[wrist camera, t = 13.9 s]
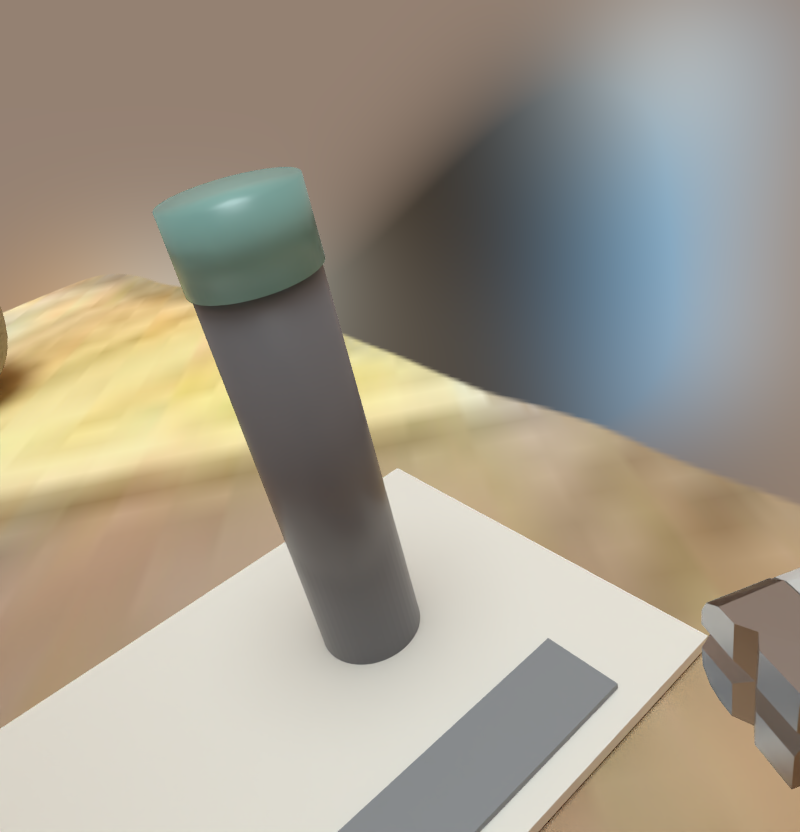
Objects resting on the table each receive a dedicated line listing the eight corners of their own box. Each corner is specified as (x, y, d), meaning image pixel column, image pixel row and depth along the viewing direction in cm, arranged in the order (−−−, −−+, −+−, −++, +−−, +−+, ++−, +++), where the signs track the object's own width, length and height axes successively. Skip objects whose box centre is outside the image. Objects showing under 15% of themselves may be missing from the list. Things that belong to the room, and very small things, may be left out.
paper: (-42, 768, 22) (-52, 756, 22) (399, 475, 31) (396, 464, 30) (106, 1307, 12) (90, 1298, 12) (707, 645, 20) (707, 631, 20)
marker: (300, 629, 24) (130, 210, 16) (379, 570, 25) (255, 164, 18) (361, 687, 21) (191, 224, 14) (445, 617, 23) (330, 169, 16)
